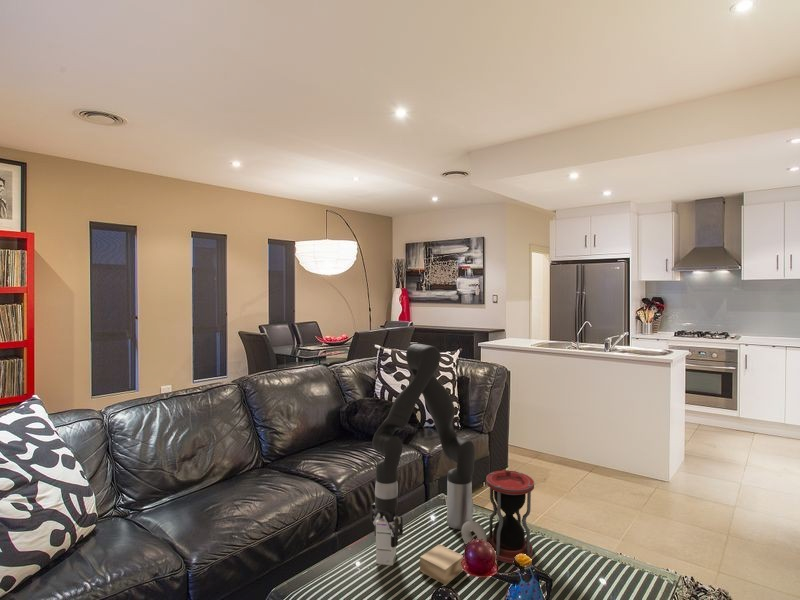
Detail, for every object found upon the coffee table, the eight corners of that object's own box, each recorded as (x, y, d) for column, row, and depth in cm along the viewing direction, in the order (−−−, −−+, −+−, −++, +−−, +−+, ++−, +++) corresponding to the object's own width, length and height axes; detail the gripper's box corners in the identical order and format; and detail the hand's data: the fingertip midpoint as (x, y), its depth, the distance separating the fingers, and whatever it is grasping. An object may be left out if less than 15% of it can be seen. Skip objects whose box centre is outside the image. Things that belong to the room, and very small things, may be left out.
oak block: (438, 558, 161) (439, 544, 161) (463, 571, 154) (463, 555, 154) (419, 571, 154) (419, 556, 153) (444, 585, 147) (445, 569, 147)
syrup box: (393, 566, 156) (393, 522, 155) (375, 563, 157) (375, 520, 157) (396, 556, 162) (396, 514, 161) (379, 554, 163) (379, 512, 162)
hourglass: (541, 549, 166) (542, 478, 165) (518, 570, 154) (520, 494, 153) (500, 532, 177) (501, 466, 176) (476, 550, 165) (477, 479, 164)
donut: (459, 546, 168) (459, 518, 168) (464, 542, 171) (465, 514, 170) (483, 557, 161) (483, 528, 161) (488, 553, 164) (489, 524, 163)
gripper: (409, 497, 155) (408, 546, 156) (381, 482, 166) (381, 528, 167) (391, 504, 150) (390, 554, 151) (364, 488, 161) (363, 535, 162)
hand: (385, 540), depth 159 cm, fingers open, 8 cm apart
